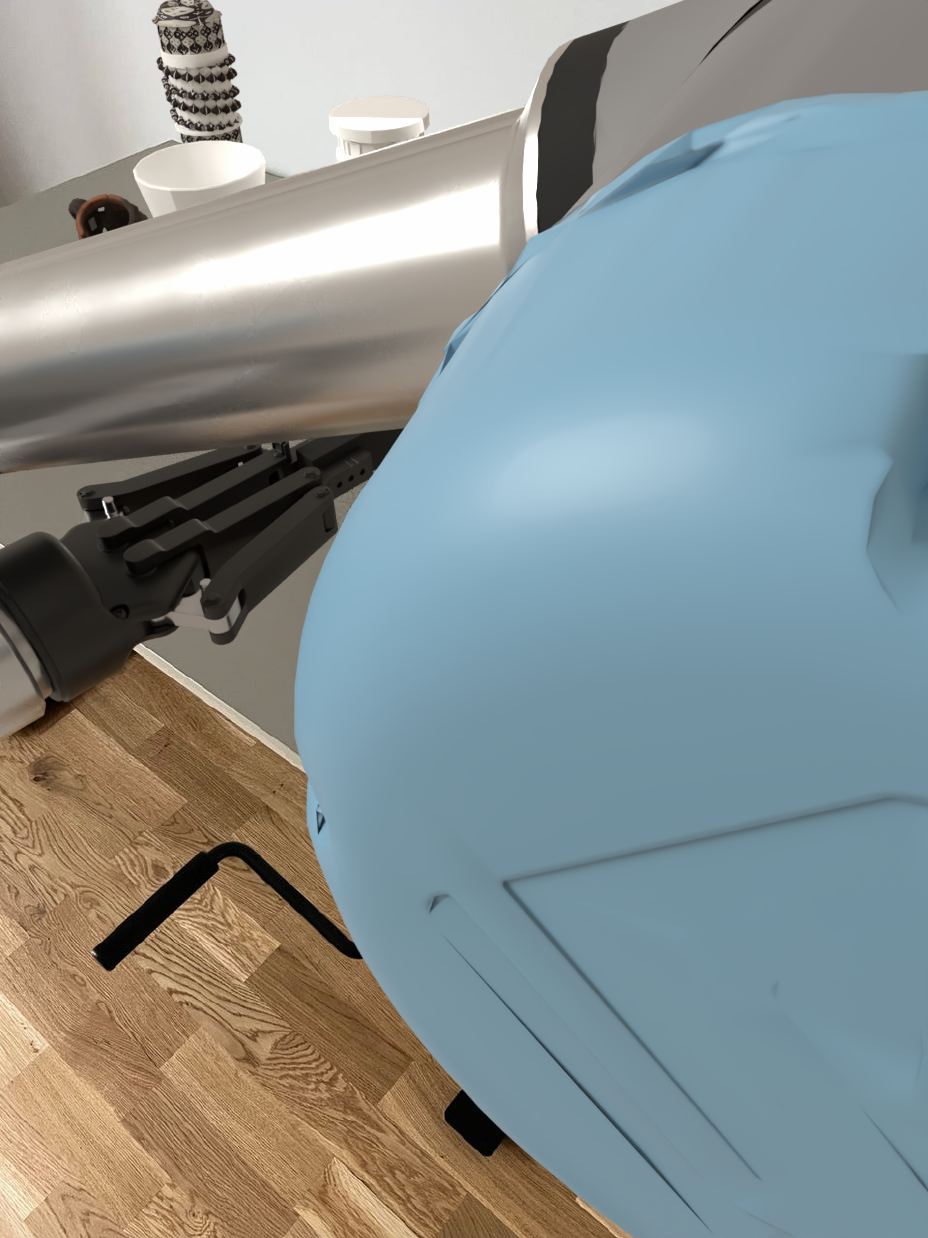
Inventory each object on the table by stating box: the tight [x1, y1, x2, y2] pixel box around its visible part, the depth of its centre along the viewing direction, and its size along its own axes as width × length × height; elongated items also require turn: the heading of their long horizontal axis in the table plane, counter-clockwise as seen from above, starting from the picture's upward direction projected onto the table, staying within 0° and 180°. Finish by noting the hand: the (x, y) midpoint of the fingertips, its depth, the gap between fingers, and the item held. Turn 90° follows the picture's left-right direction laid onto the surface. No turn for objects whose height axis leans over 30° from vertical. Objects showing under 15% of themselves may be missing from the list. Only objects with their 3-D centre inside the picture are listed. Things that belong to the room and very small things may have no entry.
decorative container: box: [328, 95, 430, 162], centre depth 112 cm, size 12×12×18 cm
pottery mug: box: [67, 193, 149, 240], centre depth 123 cm, size 12×10×8 cm
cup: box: [132, 141, 266, 218], centre depth 108 cm, size 14×14×16 cm
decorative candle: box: [151, 0, 244, 144], centre depth 123 cm, size 9×9×25 cm
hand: (397, 426), depth 56 cm, fingers closed
